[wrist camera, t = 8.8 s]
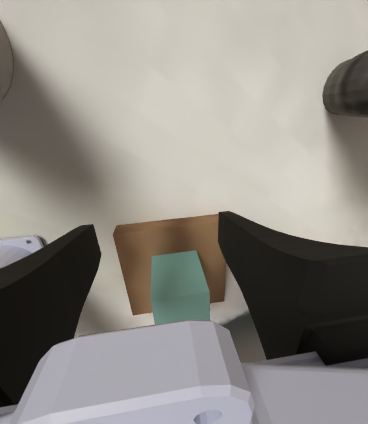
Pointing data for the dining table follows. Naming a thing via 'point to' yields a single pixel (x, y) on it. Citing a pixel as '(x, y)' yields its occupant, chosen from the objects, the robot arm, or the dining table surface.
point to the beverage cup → (348, 88)
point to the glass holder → (5, 63)
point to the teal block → (179, 288)
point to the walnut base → (167, 244)
